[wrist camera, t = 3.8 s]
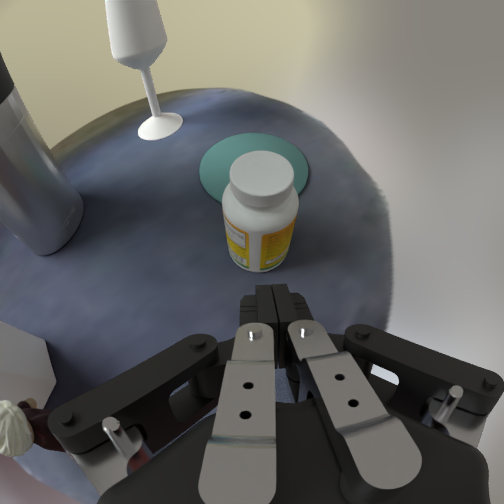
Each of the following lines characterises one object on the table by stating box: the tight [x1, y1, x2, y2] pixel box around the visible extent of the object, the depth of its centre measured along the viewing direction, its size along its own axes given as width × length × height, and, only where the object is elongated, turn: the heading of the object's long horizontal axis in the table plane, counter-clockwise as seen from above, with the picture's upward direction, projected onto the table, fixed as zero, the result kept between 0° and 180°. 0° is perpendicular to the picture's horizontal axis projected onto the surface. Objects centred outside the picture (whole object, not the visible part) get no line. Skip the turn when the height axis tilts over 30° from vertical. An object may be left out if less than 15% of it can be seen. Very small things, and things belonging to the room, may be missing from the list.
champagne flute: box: [105, 0, 183, 140], centre depth 23 cm, size 7×7×24 cm
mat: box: [199, 133, 308, 203], centre depth 29 cm, size 12×12×1 cm
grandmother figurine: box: [0, 398, 66, 457], centre depth 11 cm, size 8×4×13 cm, turn 90°
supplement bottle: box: [222, 151, 299, 272], centre depth 20 cm, size 5×5×10 cm
